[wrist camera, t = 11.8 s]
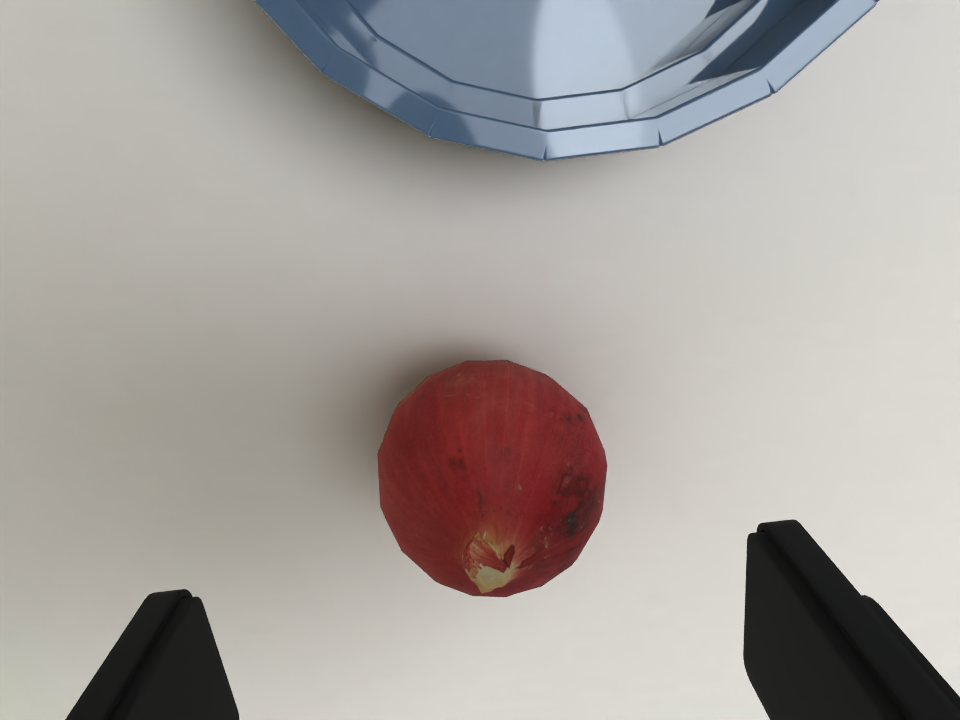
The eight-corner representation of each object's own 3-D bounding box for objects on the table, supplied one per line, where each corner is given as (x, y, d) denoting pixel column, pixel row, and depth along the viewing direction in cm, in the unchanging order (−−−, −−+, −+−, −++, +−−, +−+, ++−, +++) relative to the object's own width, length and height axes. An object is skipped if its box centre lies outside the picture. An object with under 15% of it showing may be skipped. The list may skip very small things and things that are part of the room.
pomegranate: (586, 326, 19) (661, 448, 12) (575, 495, 21) (633, 694, 14) (391, 325, 19) (339, 448, 12) (397, 495, 21) (357, 695, 14)
